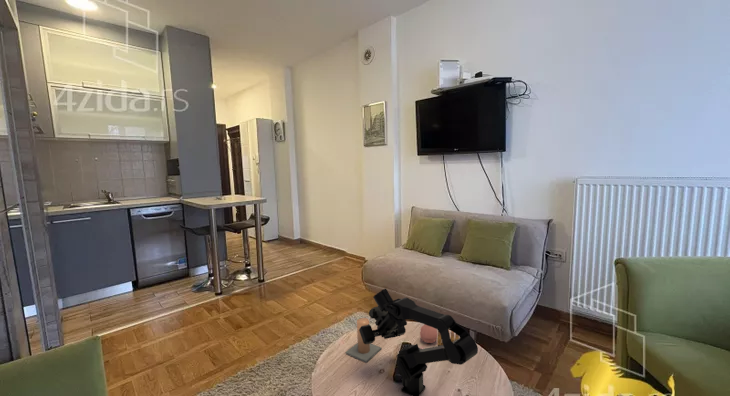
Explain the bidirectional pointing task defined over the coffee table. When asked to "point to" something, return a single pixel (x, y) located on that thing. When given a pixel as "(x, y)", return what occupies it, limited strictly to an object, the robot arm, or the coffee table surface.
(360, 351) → the tan domed cylinder
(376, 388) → the coffee table surface
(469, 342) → the robot arm
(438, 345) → the ammunition clip
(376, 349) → the slate mat
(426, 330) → the pink bottle vase
